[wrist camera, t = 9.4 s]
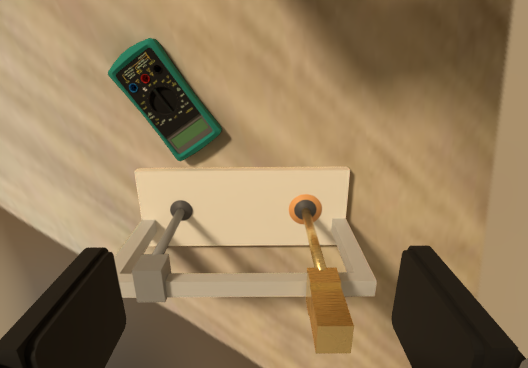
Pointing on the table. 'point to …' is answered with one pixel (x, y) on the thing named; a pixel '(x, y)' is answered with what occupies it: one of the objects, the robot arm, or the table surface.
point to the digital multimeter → (164, 98)
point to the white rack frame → (236, 228)
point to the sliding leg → (326, 300)
